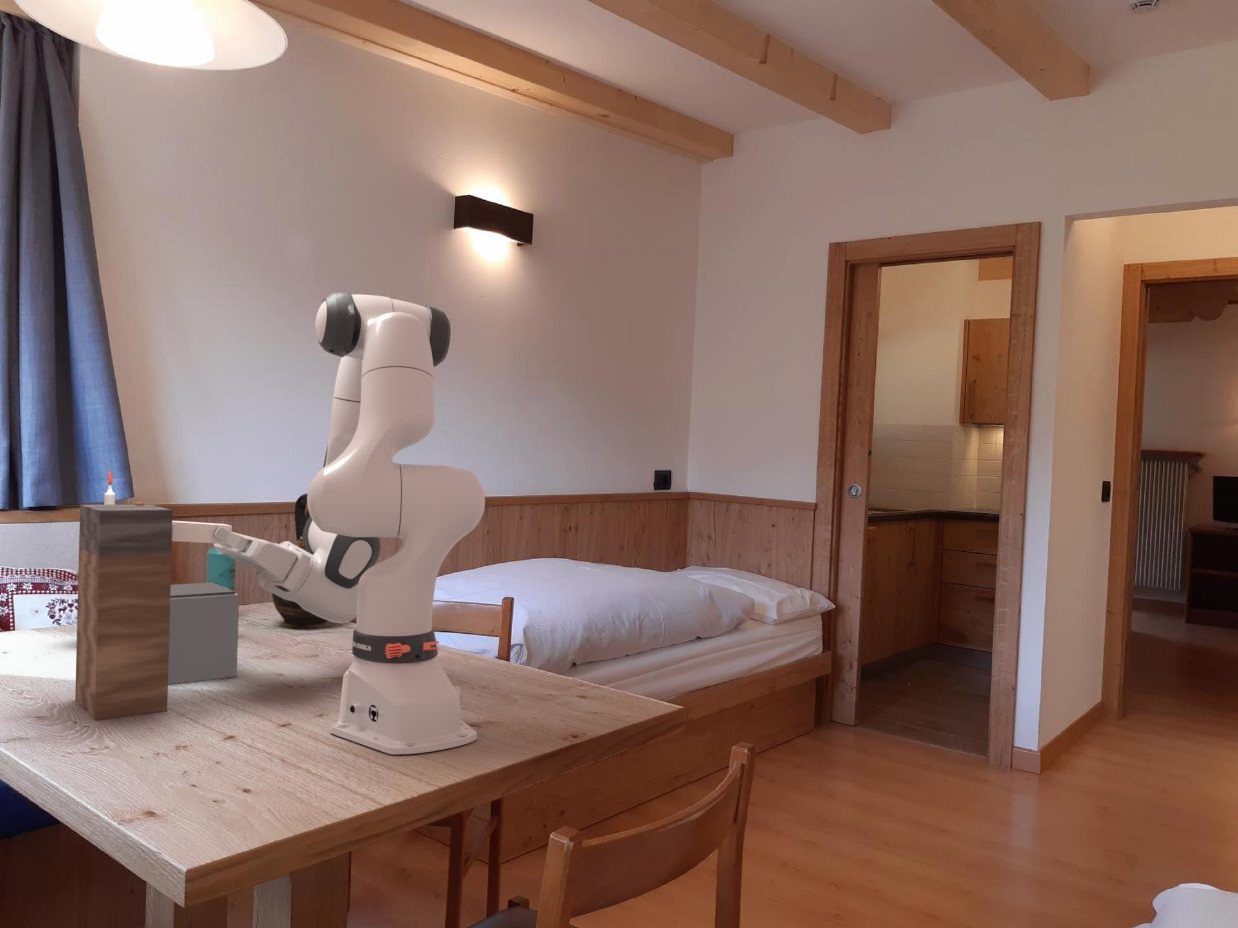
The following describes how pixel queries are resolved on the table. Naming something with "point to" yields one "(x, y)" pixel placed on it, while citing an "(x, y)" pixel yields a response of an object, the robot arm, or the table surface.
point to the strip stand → (123, 609)
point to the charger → (196, 532)
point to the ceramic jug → (289, 609)
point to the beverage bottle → (220, 569)
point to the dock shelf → (202, 632)
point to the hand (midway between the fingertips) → (210, 529)
